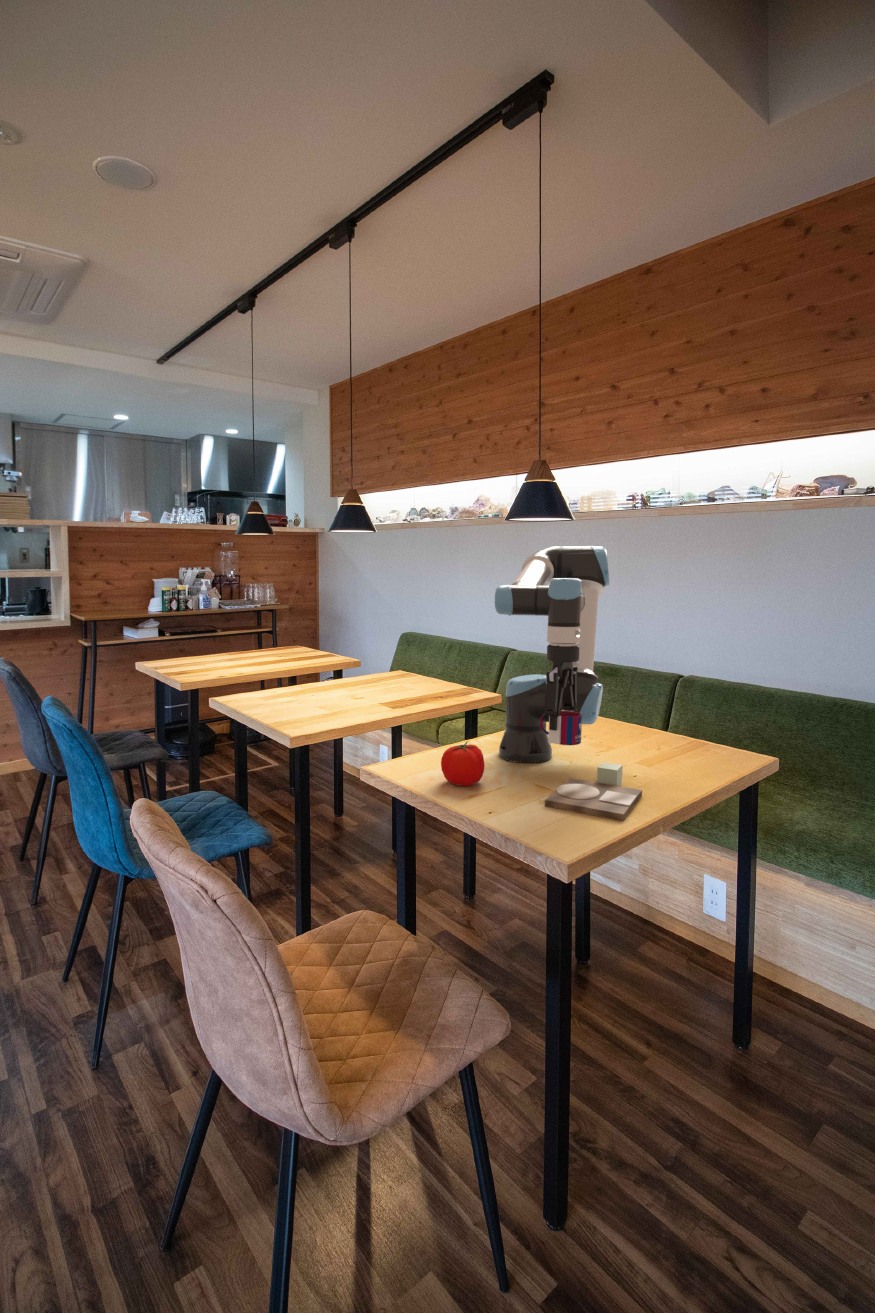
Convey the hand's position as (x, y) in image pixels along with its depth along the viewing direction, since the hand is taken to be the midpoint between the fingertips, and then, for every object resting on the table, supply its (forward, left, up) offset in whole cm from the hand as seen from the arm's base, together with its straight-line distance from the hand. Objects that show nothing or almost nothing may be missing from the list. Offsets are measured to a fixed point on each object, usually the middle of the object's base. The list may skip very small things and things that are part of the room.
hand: (560, 739), depth 161 cm
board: (+9, 0, -14) cm, 16 cm away
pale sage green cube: (+9, +13, -14) cm, 21 cm away
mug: (0, 0, -1) cm, 1 cm away
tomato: (-24, -4, -14) cm, 28 cm away
